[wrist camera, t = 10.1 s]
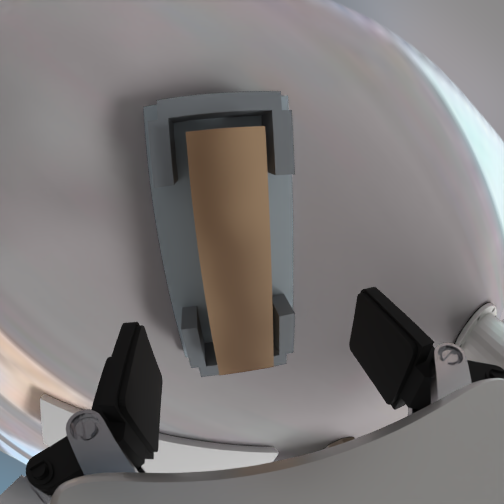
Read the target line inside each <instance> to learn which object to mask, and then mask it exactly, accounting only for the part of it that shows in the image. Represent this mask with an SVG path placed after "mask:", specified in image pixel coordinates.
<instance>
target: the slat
mask: <svg viewBox="0 0 504 504" xmlns="http://www.w3.org/2000/svg"><path fill="white" fill-rule="evenodd" d="M186 143H187V155H188V166H189V177H190V187H191V196H192V205H193V214H194V222H195V230H196V238H197V246H198V253H199V260H200V267H201V274H202V280H203V287H204V293H205V299H206V305H207V311H208V317H209V323H210V328H211V334H212V339H213V345H214V350H215V355H216V360H217V365H218V370H219V375H225V374H232V373H239V372H246V371H252V370H258V369H264V368H269V367H274V355H273V305H272V269H271V240H270V214H269V192H268V171H267V151H266V133H265V126H252V127H233V128H220V129H208V130H198V131H189V132H186Z"/></svg>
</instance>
